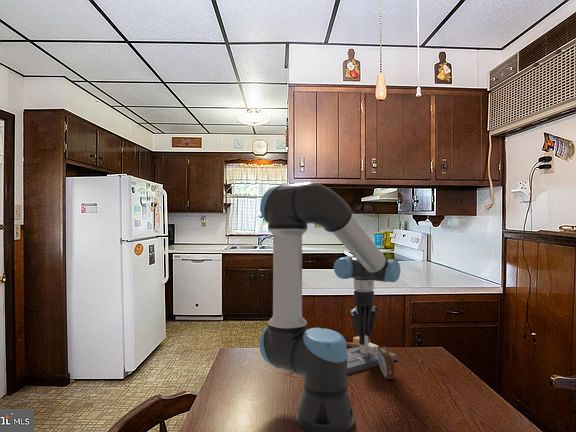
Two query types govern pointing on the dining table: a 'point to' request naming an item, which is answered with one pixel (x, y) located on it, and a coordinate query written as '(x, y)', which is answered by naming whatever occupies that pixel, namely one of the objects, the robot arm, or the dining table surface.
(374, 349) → the fader cream
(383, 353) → the tin
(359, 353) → the console
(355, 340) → the fader orange
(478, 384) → the dining table surface
